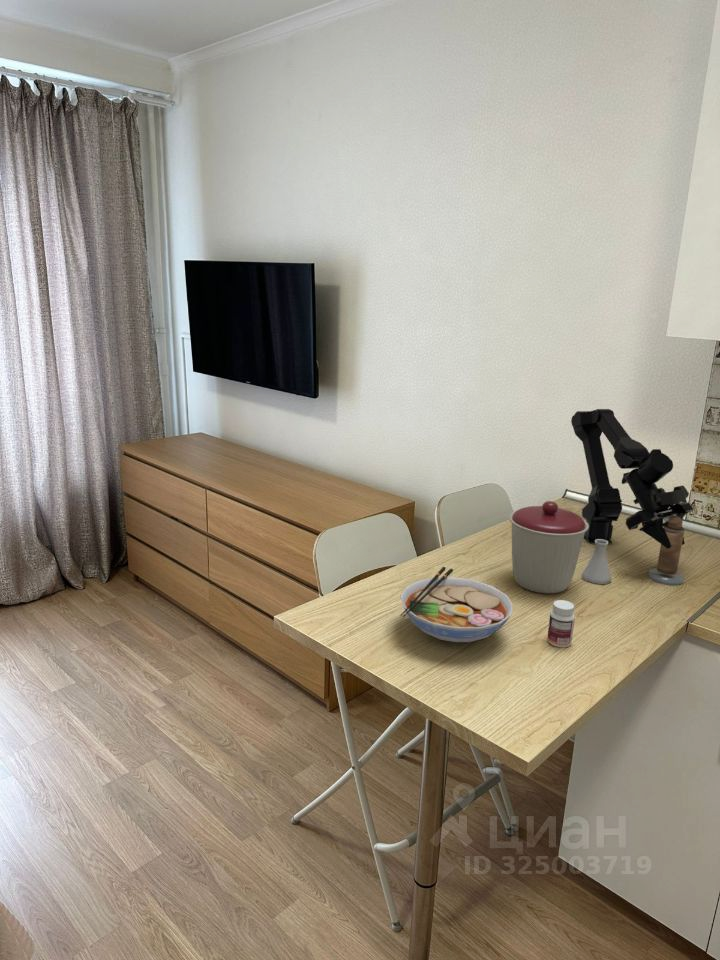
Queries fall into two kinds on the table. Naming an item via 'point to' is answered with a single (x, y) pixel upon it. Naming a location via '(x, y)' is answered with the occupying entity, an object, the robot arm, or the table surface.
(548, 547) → the canister
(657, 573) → the slate coaster
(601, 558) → the flask
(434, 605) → the ramen bowl
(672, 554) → the pepper mill
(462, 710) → the table surface
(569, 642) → the pill bottle
